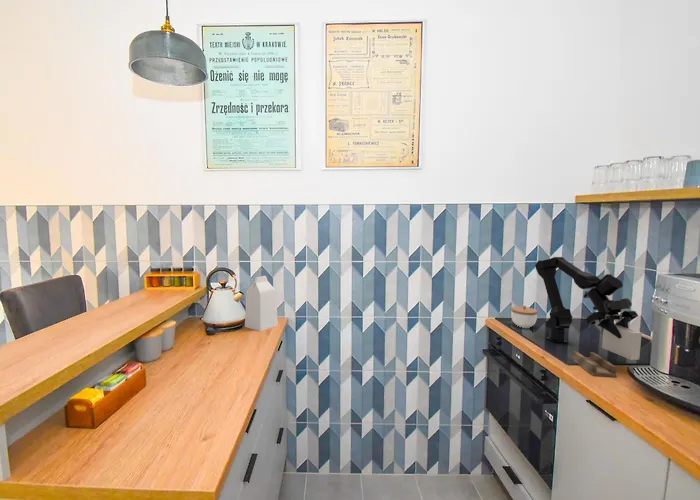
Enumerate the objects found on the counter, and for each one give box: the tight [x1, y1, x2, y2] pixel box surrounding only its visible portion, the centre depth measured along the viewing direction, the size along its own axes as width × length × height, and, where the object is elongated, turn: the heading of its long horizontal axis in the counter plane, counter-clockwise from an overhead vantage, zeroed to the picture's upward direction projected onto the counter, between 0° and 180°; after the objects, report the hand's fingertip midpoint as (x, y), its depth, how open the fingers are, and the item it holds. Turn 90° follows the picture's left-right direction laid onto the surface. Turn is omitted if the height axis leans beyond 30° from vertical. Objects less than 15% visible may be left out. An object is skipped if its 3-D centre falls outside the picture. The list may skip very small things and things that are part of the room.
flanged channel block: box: [571, 350, 617, 378], centre depth 133 cm, size 15×8×4 cm, turn 173°
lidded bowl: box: [510, 305, 539, 329], centre depth 185 cm, size 13×13×11 cm
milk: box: [244, 275, 279, 332], centre depth 179 cm, size 12×12×26 cm
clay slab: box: [601, 323, 642, 361], centre depth 132 cm, size 12×4×10 cm, turn 10°
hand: (624, 337), depth 130 cm, fingers closed on clay slab, 3 cm apart
